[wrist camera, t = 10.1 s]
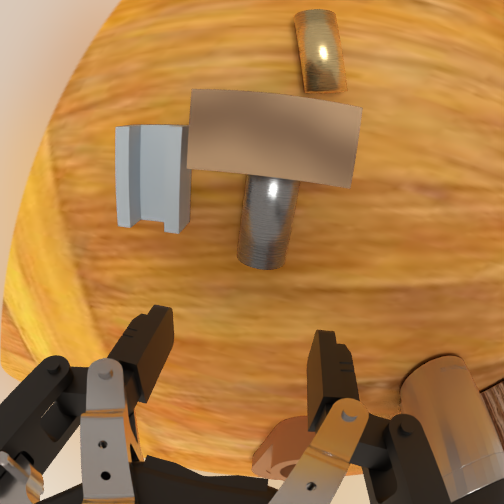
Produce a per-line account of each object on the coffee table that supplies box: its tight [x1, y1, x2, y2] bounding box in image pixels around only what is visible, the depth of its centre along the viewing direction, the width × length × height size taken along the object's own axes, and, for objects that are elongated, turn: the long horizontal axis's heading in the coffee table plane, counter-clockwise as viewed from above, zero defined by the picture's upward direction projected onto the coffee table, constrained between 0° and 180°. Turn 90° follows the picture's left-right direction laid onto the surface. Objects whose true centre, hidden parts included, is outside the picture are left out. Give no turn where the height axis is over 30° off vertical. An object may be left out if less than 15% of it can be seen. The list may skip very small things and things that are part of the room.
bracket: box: [252, 416, 315, 481], centre depth 36 cm, size 18×8×7 cm, turn 163°
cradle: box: [115, 125, 192, 234], centre depth 22 cm, size 8×5×3 cm
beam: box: [187, 89, 362, 189], centre depth 19 cm, size 5×10×5 cm, turn 85°
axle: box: [237, 174, 300, 270], centre depth 22 cm, size 10×4×4 cm, turn 172°
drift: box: [294, 9, 347, 93], centre depth 17 cm, size 6×3×3 cm, turn 7°
